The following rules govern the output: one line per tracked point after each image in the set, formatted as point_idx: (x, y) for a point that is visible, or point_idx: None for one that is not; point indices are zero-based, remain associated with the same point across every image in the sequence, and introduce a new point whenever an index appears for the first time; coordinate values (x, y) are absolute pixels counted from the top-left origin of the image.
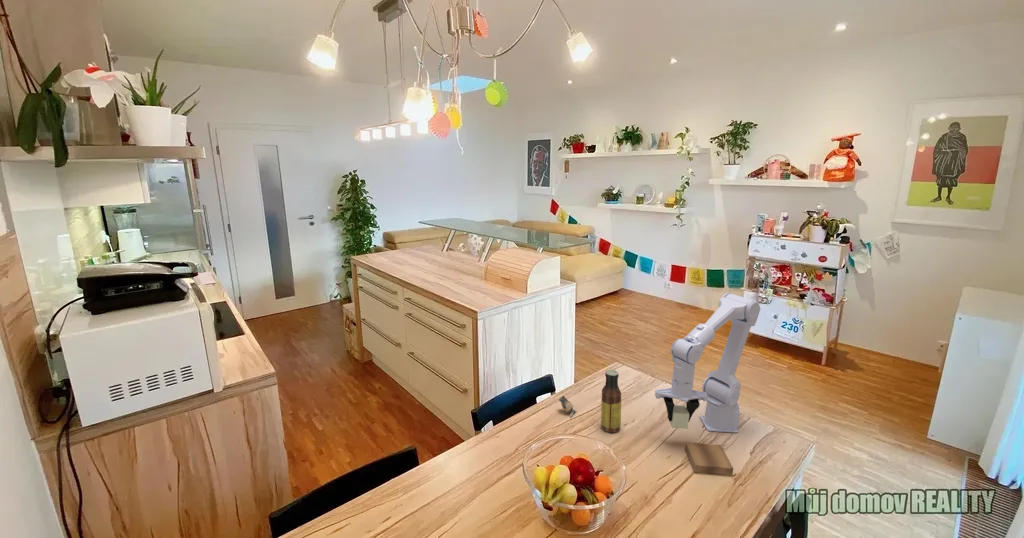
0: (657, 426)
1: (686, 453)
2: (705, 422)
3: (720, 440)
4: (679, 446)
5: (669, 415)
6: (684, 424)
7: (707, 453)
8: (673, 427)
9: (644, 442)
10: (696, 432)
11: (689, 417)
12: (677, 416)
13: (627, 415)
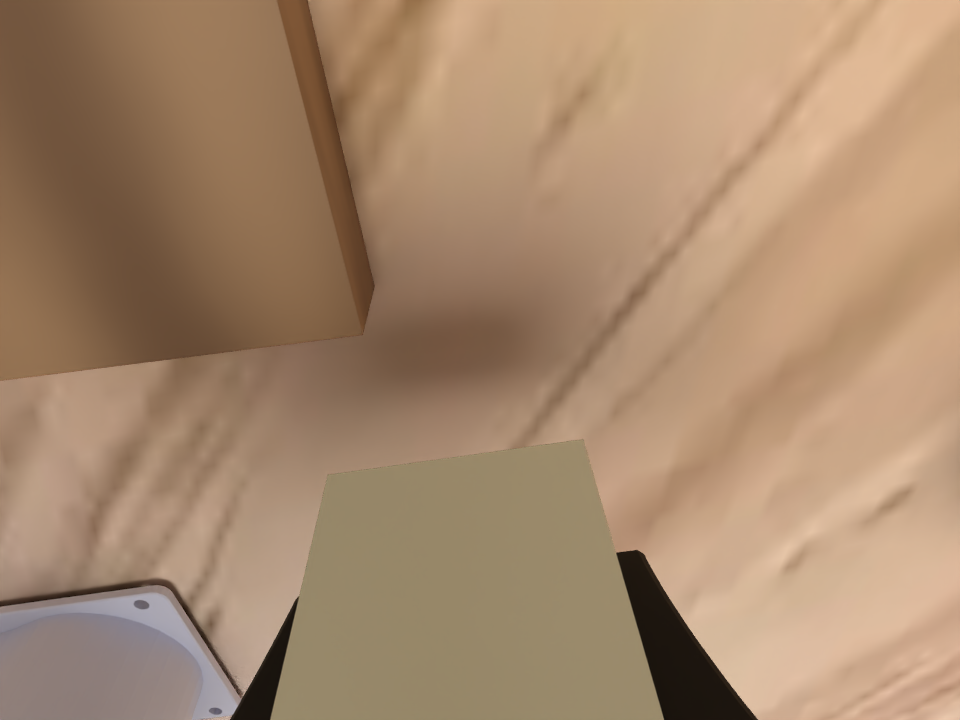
0: None
1: (359, 224)
2: (188, 661)
3: (41, 501)
4: (429, 324)
5: (707, 655)
6: (380, 528)
7: (69, 171)
8: (562, 449)
9: (797, 297)
10: (262, 547)
11: (275, 689)
12: (544, 663)
13: (827, 603)
